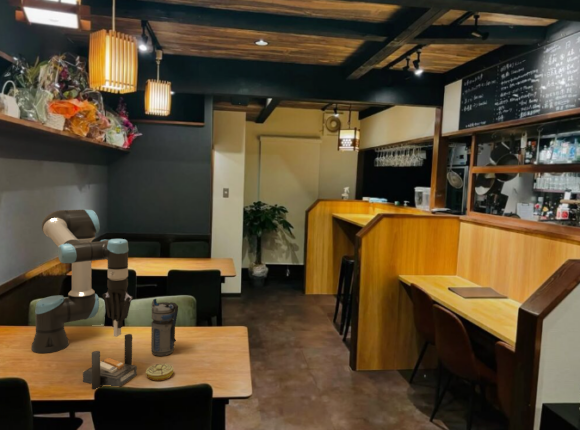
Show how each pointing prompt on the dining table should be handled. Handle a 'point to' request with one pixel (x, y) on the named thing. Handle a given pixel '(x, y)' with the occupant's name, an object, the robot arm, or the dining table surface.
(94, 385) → the post near
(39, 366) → the dining table surface
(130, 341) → the post far
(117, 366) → the paddle orange
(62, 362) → the dining table surface
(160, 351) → the beverage bottle
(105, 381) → the breaker box
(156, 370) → the decorated donut
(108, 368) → the paddle ivory
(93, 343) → the dining table surface
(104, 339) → the dining table surface
